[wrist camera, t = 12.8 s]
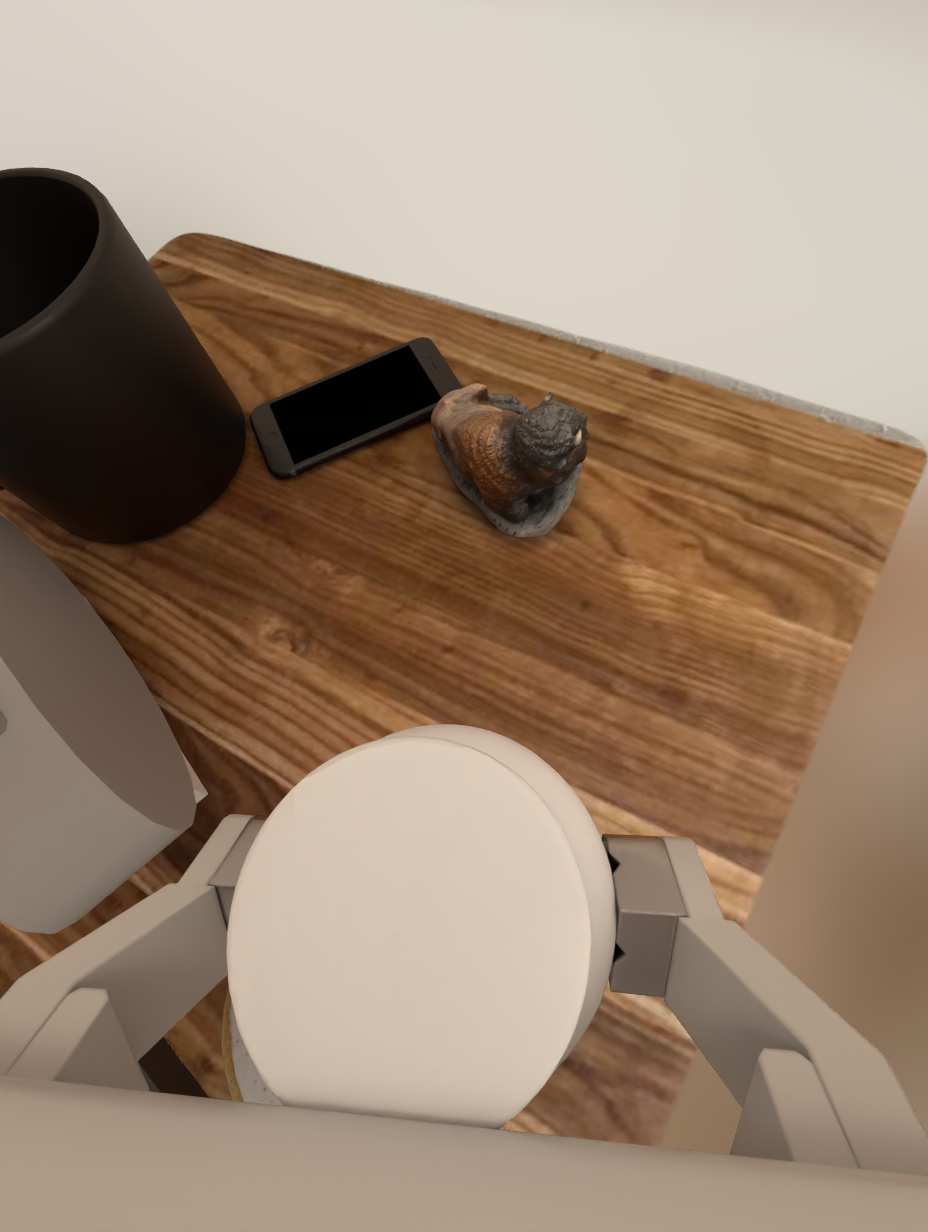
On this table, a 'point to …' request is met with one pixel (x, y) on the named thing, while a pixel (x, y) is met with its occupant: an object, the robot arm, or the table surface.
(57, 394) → the mug
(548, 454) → the bison figurine
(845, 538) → the table surface
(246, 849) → the robot arm
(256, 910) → the pill bottle
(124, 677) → the alarm clock
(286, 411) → the smartphone
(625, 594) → the table surface
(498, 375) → the table surface
